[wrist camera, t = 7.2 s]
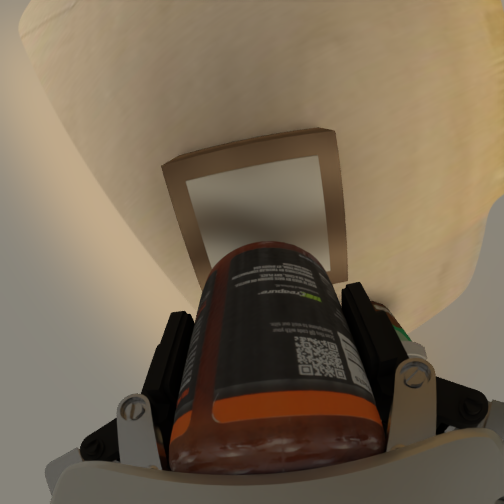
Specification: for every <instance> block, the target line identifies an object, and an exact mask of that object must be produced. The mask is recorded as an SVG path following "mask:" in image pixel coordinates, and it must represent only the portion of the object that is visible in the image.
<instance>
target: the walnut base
mask: <svg viewBox="0 0 504 504" xmlns="http://www.w3.org/2000/svg"><path fill="white" fill-rule="evenodd" d="M161 168H162V171H163V174H164V178H165V181H166V185H167V188H168V191H169V195H170V198H171V201H172V204H173V208H174V211H175V214H176V217H177V220H178V223H179V226H180V230H181V233H182V236H183V239H184V242H185V245H186V247H187V250H188V253H189V256H190V259H191V262H192V265H193V268H194V270H195V273H196V276H197V279H198V282H199V284H200V287H201V290H202V292H203V289H204V286H205V283H206V280H207V278H208V275H209V274H210V272H211V270H212V268H213V267H214V266H215V265H216V263H217V262H218V261H220V260H221V259H222V258H223V257H224V256H226V255H227V254H228V253H230V252H232V251H233V250H235V249H237V248H239V247H242V246H244V245H247V244H251V243H255V242H261V241H278V242H285V243H288V244H293V245H295V246H297V247H300V248H302V249H303V250H305V251H307V252H309V253H310V254H312V255H313V256H314V257H315V258H316V259H317V260H318V261H319V262H320V264H321V265H322V266H323V268H324V269H325V271H326V273H327V275H328V276H329V279H330V281H331V283H332V284H335V283H340V282H345V281H348V264H347V240H346V224H345V210H344V198H343V188H342V179H341V170H340V162H339V154H338V147H337V140H336V133H335V131H334V130H329V129H324V128H311V129H304V130H297V131H290V132H284V133H278V134H272V135H266V136H261V137H256V138H251V139H246V140H241V141H236V142H231V143H227V144H223V145H218V146H214V147H210V148H206V149H202V150H198V151H194V152H190V153H187V154H183V155H180V156H178V157H176V158H174V159H172V160H171V161H169V162H167V163H165V164H164V165H162V166H161Z"/></svg>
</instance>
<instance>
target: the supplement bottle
mask: <svg viewBox="0 0 504 504" xmlns="http://www.w3.org/2000/svg"><path fill="white" fill-rule="evenodd" d="M385 440H386V439H385V434H384V429H383V426H382V422H381V419H380V415H379V413H378V410H377V407H376V402H375V399H374V396H373V393H372V390H371V387H370V384H369V381H368V378H367V375H366V372H365V369H364V366H363V364H362V361H361V358H360V355H359V352H358V350H357V347H356V344H355V341H354V339H353V336H352V334H351V331H350V328H349V326H348V322H347V320H346V318H345V315H344V313H343V310H342V308H341V305H340V303H339V300H338V297H337V294H336V293H335V290H334V288H333V285H332V283H331V281H330V279H329V276H328V275H327V273H326V271H325V269H324V268H323V266H322V265H321V264H320V262H319V261H318V260H317V259H316V258H315V257H314V256H313V255H312V254H310V253H309V252H307V251H305V250H303V249H302V248H300V247H297V246H295V245H293V244H288V243H285V242H278V241H261V242H255V243H251V244H247V245H244V246H242V247H239V248H237V249H235V250H233V251H232V252H230V253H228V254H227V255H226V256H224V257H223V258H222V259H221V260H220V261H218V262H217V263H216V265H215V266H214V267H213V268H212V270H211V272H210V274H209V275H208V278H207V280H206V283H205V286H204V289H203V292H202V296H201V299H200V303H199V307H198V311H197V315H196V320H195V325H194V328H193V333H192V337H191V340H190V345H189V350H188V354H187V359H186V363H185V368H184V372H183V377H182V382H181V386H180V391H179V396H178V400H177V407H176V411H175V417H174V425H173V429H172V434H171V439H170V445H169V465H170V468H171V471H172V472H181V473H193V474H210V475H255V474H272V473H284V472H293V471H301V470H308V469H315V468H321V467H327V466H332V465H337V464H342V463H347V462H351V461H355V460H359V459H363V458H367V457H371V456H374V455H378V454H382V453H384V449H385Z"/></svg>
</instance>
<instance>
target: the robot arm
mask: <svg viewBox="0 0 504 504" xmlns="http://www.w3.org/2000/svg"><path fill="white" fill-rule="evenodd" d="M342 310H343V313H344V315H345V318H346V320H347V322H348V326H349V328H350V331H351V334H352V336H353V339H354V341H355V344H356V347H357V350H358V352H359V355H360V358H361V361H362V364H363V366H364V369H365V372H366V375H367V378H368V381H369V384H370V387H371V390H372V393H373V396H374V399H375V402H376V407H377V410H378V413H379V415H380V419H381V422H382V426H383V429H384V434H385V439H386V440H385V449H384V453H382V454H378V455H374V456H371V457H367V458H363V459H359V460H355V461H351V462H347V463H342V464H337V465H332V466H327V467H321V468H315V469H308V470H301V471H293V472H284V473H272V474H255V475H210V474H193V473H181V472H172V471H171V468H170V465H169V445H170V439H171V434H172V429H173V425H174V417H175V411H176V407H177V400H178V396H179V391H180V386H181V382H182V377H183V372H184V368H185V363H186V359H187V354H188V350H189V345H190V340H191V337H192V333H193V328H194V325H195V323H194V321H193V318H192V316H191V314H187V313H186V312H185V311H179V312H172V313H171V315H170V317H169V320H168V323H167V325H166V328H165V331H164V334H163V337H162V340H161V342H160V344H159V345H158V346H157V348H156V350H155V353H154V356H153V359H152V362H151V365H150V368H149V371H148V374H147V377H146V380H145V383H144V386H143V389H142V392H141V394H131V395H129V396H127V397H125V398H124V399H123V400H122V401H121V402H120V403H119V405H118V408H117V418H115V419H114V420H112V421H111V422H109V423H108V424H106V425H104V426H103V427H101V428H100V429H98V430H97V431H95V432H93V433H92V434H90V435H89V436H87V437H86V438H85V439H84V441H83V442H82V444H81V446H80V449H78V448H75V449H73V450H71V451H70V452H68V453H66V454H64V455H63V456H61V457H59V458H57V459H55V460H53V461H51V462H50V463H49V464H48V465H47V466H46V469H45V477H46V480H47V483H48V486H49V489H50V492H51V495H52V498H51V502H50V504H504V402H500V401H496V400H492V402H489V401H488V400H487V399H486V397H485V395H484V394H483V393H482V392H480V391H478V390H475V389H471V388H468V387H466V386H463V385H460V384H456V383H454V382H451V381H448V380H445V379H442V378H439V377H436V374H435V370H434V368H433V366H432V365H431V364H430V363H429V362H428V361H426V360H424V359H422V358H409V356H408V354H407V352H406V350H405V348H404V346H403V344H402V342H401V340H400V338H399V336H398V334H397V333H396V331H395V329H394V327H393V325H392V323H391V321H390V319H389V317H388V315H387V314H386V312H385V311H384V310H379V311H375V309H374V307H373V305H372V303H371V301H370V299H369V298H368V296H367V294H366V292H365V290H364V288H363V286H362V284H361V283H360V282H356V283H352V284H347V285H346V288H345V289H342Z"/></svg>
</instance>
